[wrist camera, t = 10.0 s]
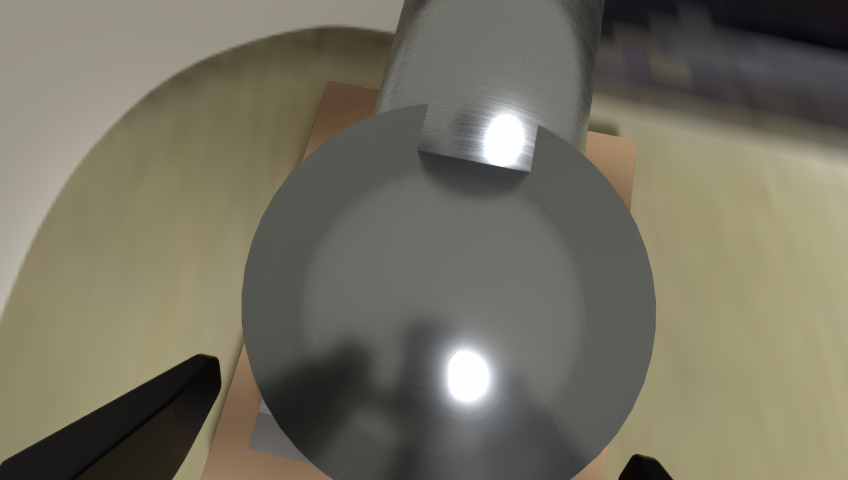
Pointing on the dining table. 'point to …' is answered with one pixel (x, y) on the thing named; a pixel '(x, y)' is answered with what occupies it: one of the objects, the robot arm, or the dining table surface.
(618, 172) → the base
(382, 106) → the duct elbow
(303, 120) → the dining table surface
